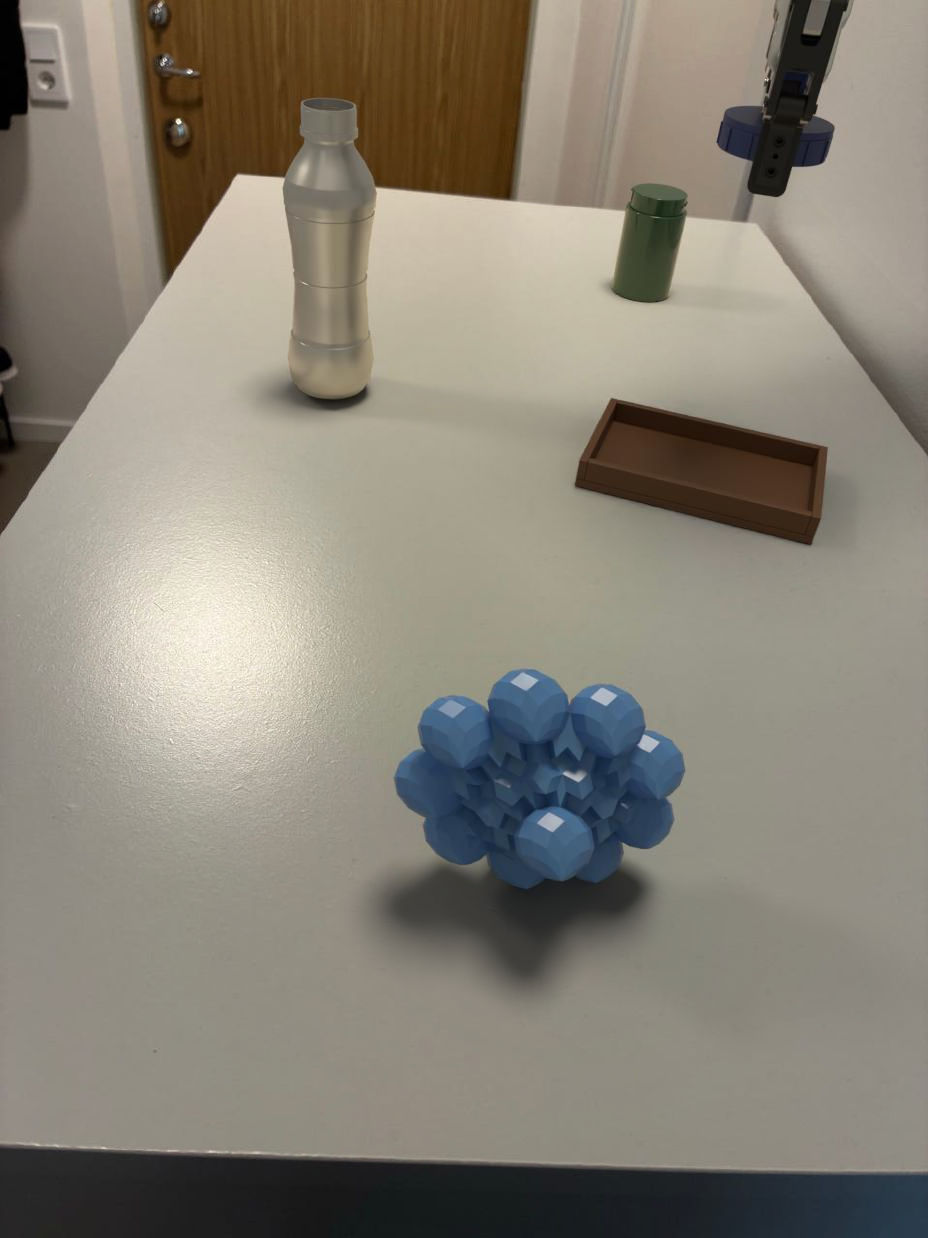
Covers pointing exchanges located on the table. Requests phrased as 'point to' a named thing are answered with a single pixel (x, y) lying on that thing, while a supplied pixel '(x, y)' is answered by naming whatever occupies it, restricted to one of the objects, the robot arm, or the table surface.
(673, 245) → the jam jar
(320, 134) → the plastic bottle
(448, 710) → the blue ball cluster
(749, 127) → the jar lid
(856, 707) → the table surface
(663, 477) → the serving tray
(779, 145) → the robot arm
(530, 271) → the table surface
